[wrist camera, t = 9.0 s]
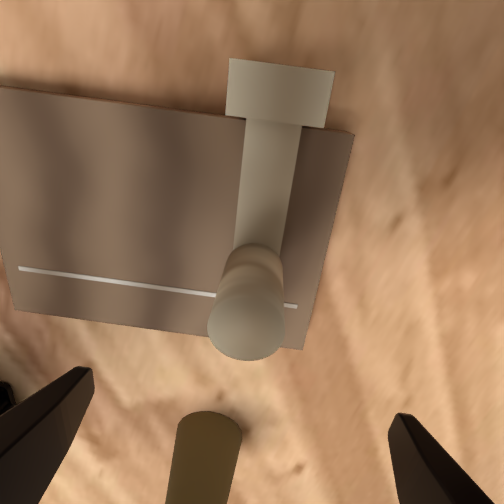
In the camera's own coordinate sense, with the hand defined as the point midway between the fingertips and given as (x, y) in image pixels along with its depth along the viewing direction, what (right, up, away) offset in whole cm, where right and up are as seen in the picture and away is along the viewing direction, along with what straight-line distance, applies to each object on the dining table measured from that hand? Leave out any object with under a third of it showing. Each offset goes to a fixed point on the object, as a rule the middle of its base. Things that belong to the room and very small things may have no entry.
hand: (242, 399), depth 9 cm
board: (-5, +6, +11) cm, 14 cm away
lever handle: (+1, +7, +10) cm, 13 cm away
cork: (-4, -12, +20) cm, 24 cm away
